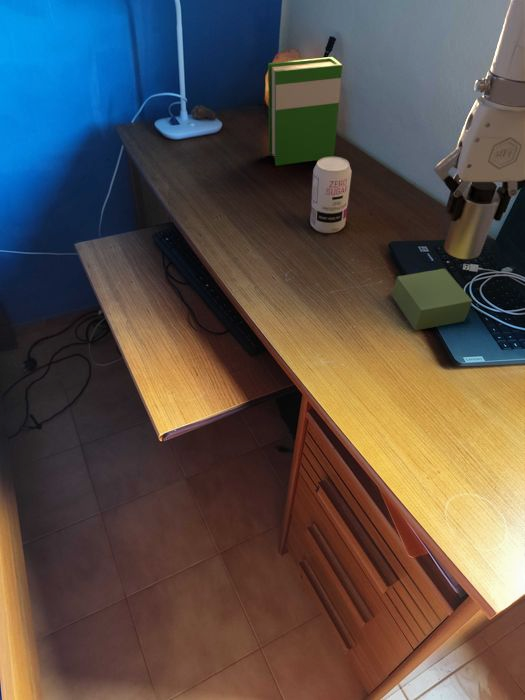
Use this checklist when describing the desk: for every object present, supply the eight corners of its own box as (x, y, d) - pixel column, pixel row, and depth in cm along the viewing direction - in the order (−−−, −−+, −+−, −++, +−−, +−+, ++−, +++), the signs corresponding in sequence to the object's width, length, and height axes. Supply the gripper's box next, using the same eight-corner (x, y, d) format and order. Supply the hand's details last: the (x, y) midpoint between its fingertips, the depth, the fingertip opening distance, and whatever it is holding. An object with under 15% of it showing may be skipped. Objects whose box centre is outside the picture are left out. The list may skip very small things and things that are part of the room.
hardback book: (275, 165, 133) (275, 71, 116) (269, 155, 138) (268, 63, 121) (333, 157, 136) (342, 64, 119) (325, 147, 141) (332, 56, 124)
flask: (474, 239, 78) (497, 175, 70) (485, 259, 74) (510, 194, 66) (439, 239, 79) (458, 175, 70) (448, 259, 75) (469, 194, 66)
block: (438, 288, 93) (444, 268, 90) (464, 321, 87) (472, 300, 83) (392, 296, 92) (396, 276, 88) (415, 330, 85) (421, 310, 82)
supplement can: (325, 212, 115) (330, 152, 104) (351, 225, 110) (360, 163, 100) (303, 225, 111) (306, 163, 100) (329, 238, 107) (336, 176, 96)
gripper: (456, 100, 57) (422, 230, 70) (599, 98, 56) (538, 229, 69) (441, 80, 62) (412, 204, 75) (572, 78, 62) (520, 203, 75)
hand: (473, 215), depth 72 cm, fingers closed on flask, 5 cm apart
